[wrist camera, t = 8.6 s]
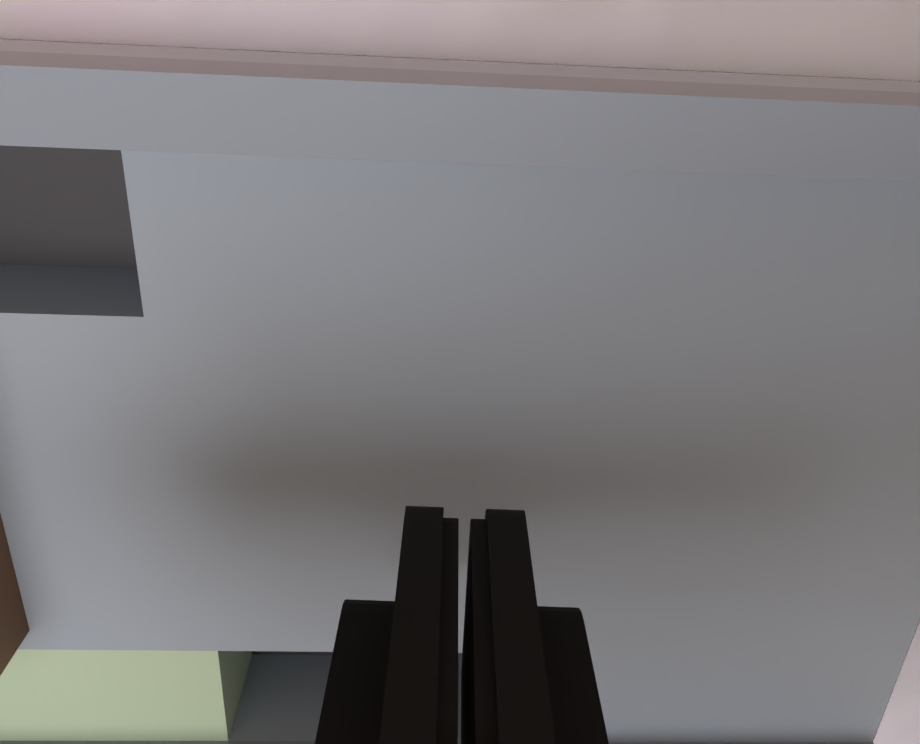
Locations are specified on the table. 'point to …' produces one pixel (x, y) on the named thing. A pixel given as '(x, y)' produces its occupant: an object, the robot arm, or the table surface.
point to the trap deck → (454, 378)
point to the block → (9, 605)
